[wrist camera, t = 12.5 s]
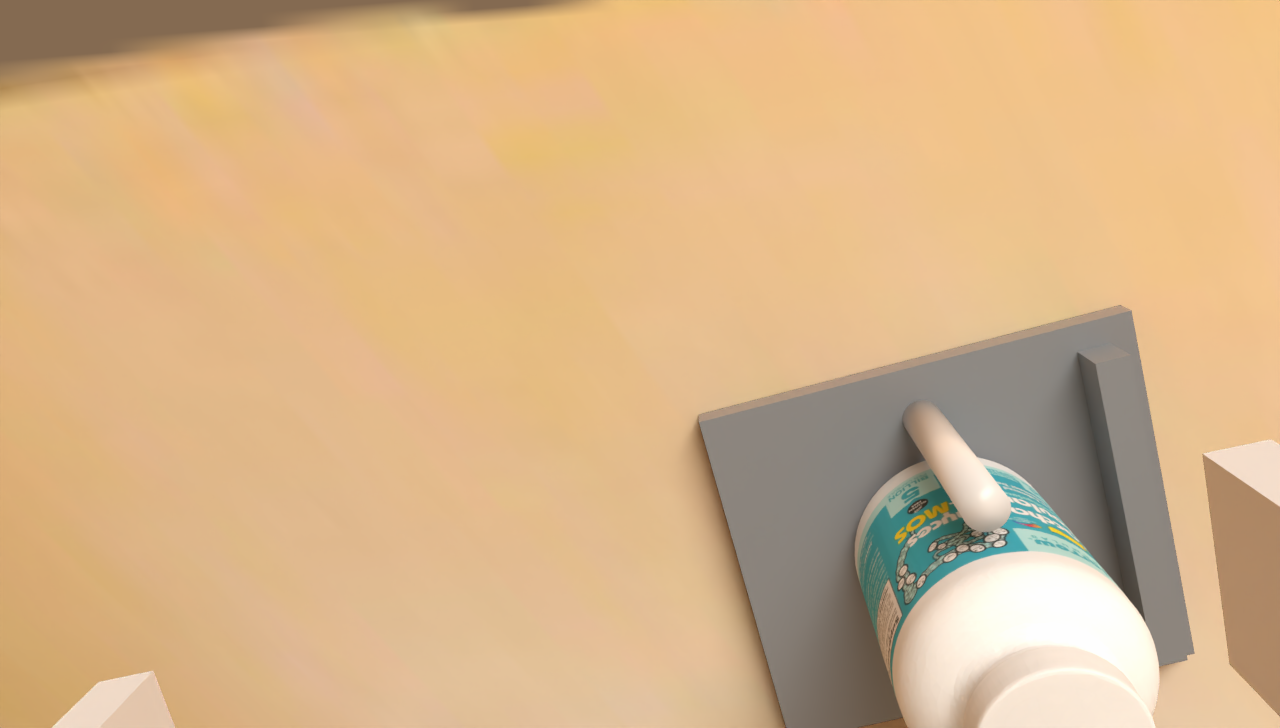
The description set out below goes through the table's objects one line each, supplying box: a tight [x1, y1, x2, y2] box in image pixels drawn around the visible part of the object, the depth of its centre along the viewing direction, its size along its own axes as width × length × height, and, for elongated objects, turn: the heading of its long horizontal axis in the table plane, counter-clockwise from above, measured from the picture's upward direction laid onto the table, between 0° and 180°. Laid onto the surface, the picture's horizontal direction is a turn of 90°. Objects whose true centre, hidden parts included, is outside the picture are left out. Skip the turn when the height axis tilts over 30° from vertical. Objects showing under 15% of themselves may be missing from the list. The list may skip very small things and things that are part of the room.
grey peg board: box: [699, 305, 1195, 728], centre depth 36 cm, size 16×14×10 cm
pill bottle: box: [855, 457, 1159, 728], centre depth 34 cm, size 8×7×14 cm
